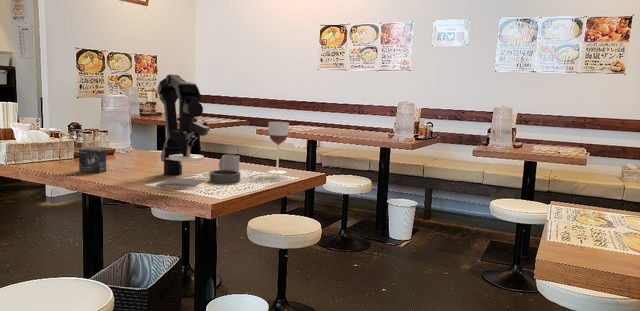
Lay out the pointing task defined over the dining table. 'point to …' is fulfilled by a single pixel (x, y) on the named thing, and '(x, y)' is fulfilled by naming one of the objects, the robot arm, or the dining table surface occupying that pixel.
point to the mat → (183, 182)
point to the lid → (186, 157)
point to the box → (92, 160)
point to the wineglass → (278, 138)
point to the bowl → (224, 176)
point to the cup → (229, 162)
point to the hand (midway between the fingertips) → (186, 155)
